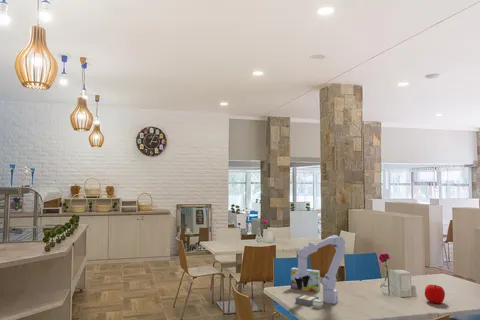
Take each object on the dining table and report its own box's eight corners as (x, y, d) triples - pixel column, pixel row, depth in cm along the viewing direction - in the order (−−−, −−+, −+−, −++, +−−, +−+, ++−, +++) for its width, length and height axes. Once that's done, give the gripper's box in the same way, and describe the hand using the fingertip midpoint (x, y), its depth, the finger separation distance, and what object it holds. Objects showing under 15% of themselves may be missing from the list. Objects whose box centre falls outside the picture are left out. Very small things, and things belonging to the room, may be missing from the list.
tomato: (434, 305, 259) (433, 287, 260) (419, 300, 272) (419, 282, 273) (449, 304, 262) (449, 286, 263) (434, 298, 275) (434, 281, 276)
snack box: (290, 288, 299) (290, 268, 300) (293, 287, 304) (293, 267, 305) (318, 292, 289) (318, 271, 290) (320, 290, 294) (320, 270, 295)
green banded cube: (323, 308, 252) (323, 300, 252) (319, 310, 248) (319, 301, 248) (316, 306, 255) (316, 298, 255) (312, 308, 251) (312, 300, 251)
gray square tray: (318, 303, 263) (318, 296, 263) (311, 307, 254) (311, 300, 254) (303, 300, 269) (303, 294, 269) (295, 304, 260) (295, 297, 261)
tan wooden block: (315, 302, 262) (315, 297, 263) (310, 305, 256) (310, 300, 256) (304, 299, 267) (304, 295, 268) (298, 302, 261) (298, 297, 261)
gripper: (302, 264, 271) (302, 284, 270) (291, 267, 259) (291, 289, 258) (311, 265, 267) (311, 286, 266) (301, 269, 255) (301, 291, 254)
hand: (302, 288), depth 262 cm, fingers open, 7 cm apart
